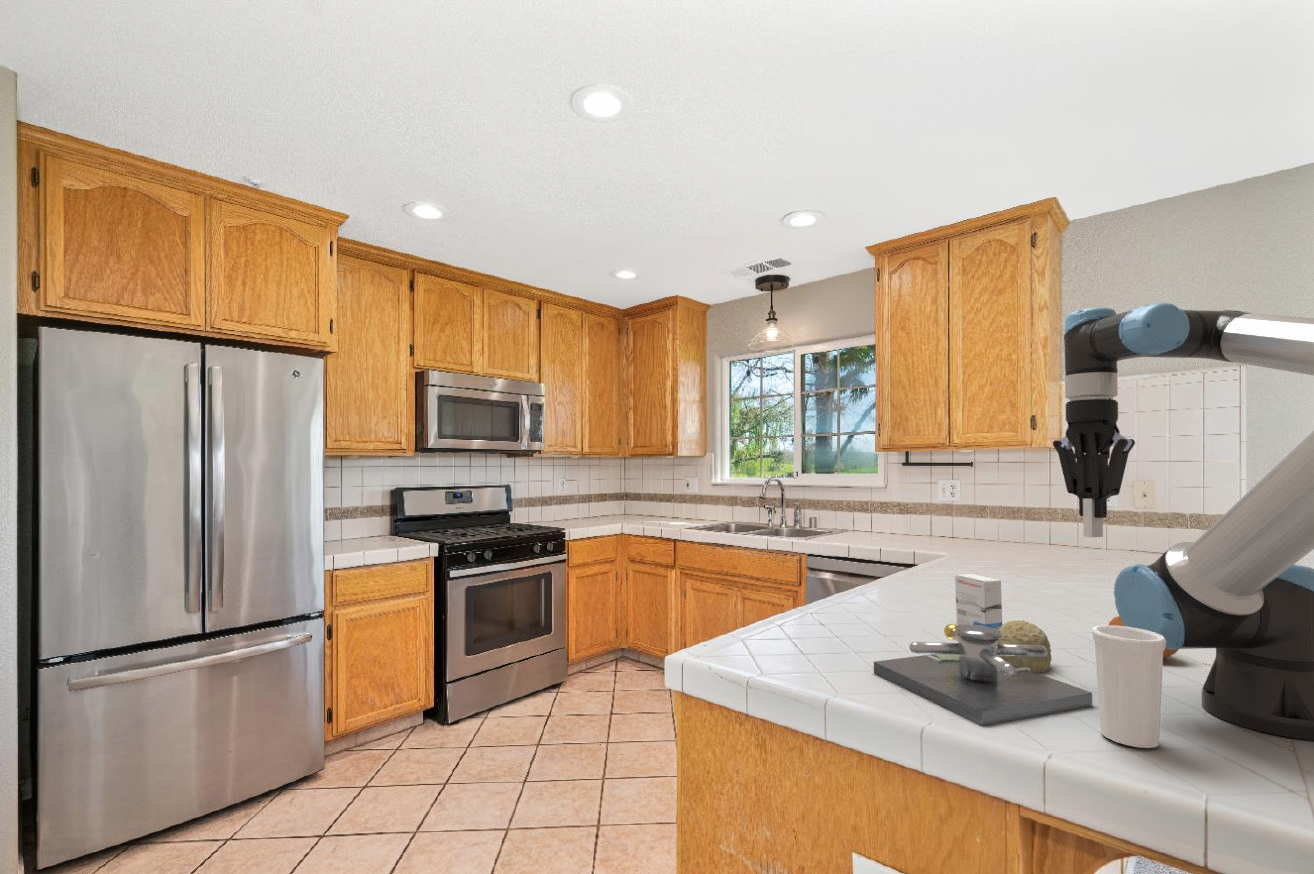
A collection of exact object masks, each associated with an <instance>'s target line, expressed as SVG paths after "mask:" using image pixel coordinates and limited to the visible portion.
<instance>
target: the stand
mask: <svg viewBox="0 0 1314 874" xmlns="http://www.w3.org/2000/svg"><path fill="white" fill-rule="evenodd" d="M1011 665H1013V664H1011ZM1013 667H1014V668H1015V673H1014V675H1012V676H1006V675H1004V674H1003V673H1001V672H1000V671H999V670H998V679H997V680H995V681H978V680H972V679H969V678H966V677H963V676H962V675H960V674H959V655H956V654H925V655H924V654H921V655H915V656H908V657H901V658H892V659H885V660H876V661H873V674H874V675H877V676H879V677H880V678H883V679H885V680H888V681H889V682H891V683H893V684H896V685H897V686H899V687H901V688H904V689H906V690H908V691H910V692H912V693H913V694H916V695H918V696H920V697H922V698H924V699H926V700H928V701H930V702H932V703H934V704H936V705H938V706H941V707H942V708H944V709H947V710H949V711H951V712H953V713H955V714H957V715H959V714H960V715H959V716H961V717H963V718H965V717H966V718H965V719H967V720H970V721H971V722H973V721H974V722H973V723H975V722H976V723H975V724H977V725H980V726H982V727H983V726H990V725H995V724H994V723H996V724H1001V723H1007V722H1012V721H1016V720H1023V719H1027V718H1033V717H1039V716H1044V715H1045V716H1046V715H1049V714H1055V713H1056V714H1057V713H1060V712H1066V711H1073V710H1076V709H1081V708H1088V707H1093V692H1092V691H1089V690H1086V689H1083V688H1080V687H1078V686H1074V685H1071V684H1069V683H1066V682H1063V681H1061V680H1059V679H1058V680H1057V679H1055V678H1052V677H1050V676H1046V675H1043V674H1040V673H1036V672H1033V671H1030V669H1029V668H1026V667H1024V668H1021V667H1019V666H1016V665H1013ZM1006 721H1007V722H1006ZM1000 722H1001V723H1000Z"/></svg>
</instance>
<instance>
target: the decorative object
mask: <svg viewBox="0 0 1314 874" xmlns="http://www.w3.org/2000/svg"><path fill="white" fill-rule="evenodd" d="M999 631H1001V639H1000V640H997V644H1020V645H1043V646H1045V647H1046V648H1047V650H1048V653H1047V655H1046V656H1044V657H1035V656H999V657H1001V658H1002V659H1004V660H1005V661H1007V662H1008V663H1010V664H1013V665H1016V666H1019V667H1021V668H1024V667H1026V668H1029V669H1030V671H1033V672H1035V673H1038V674H1040V673H1045V672H1047V671H1049V669H1050V667H1051V666H1050V665H1051V662H1052V654H1051V653H1052V649H1051V644H1050V641H1049V639H1048V636H1047V635H1046V633H1045V632H1044V631H1043V630H1042V629H1041V628H1040V627H1038V626H1037V625H1036V624H1035V623H1030V622H1028V621H1025V620H1012V621H1007V622H1006V623H1002V626H1001V627H1000V628H999Z"/></svg>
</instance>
